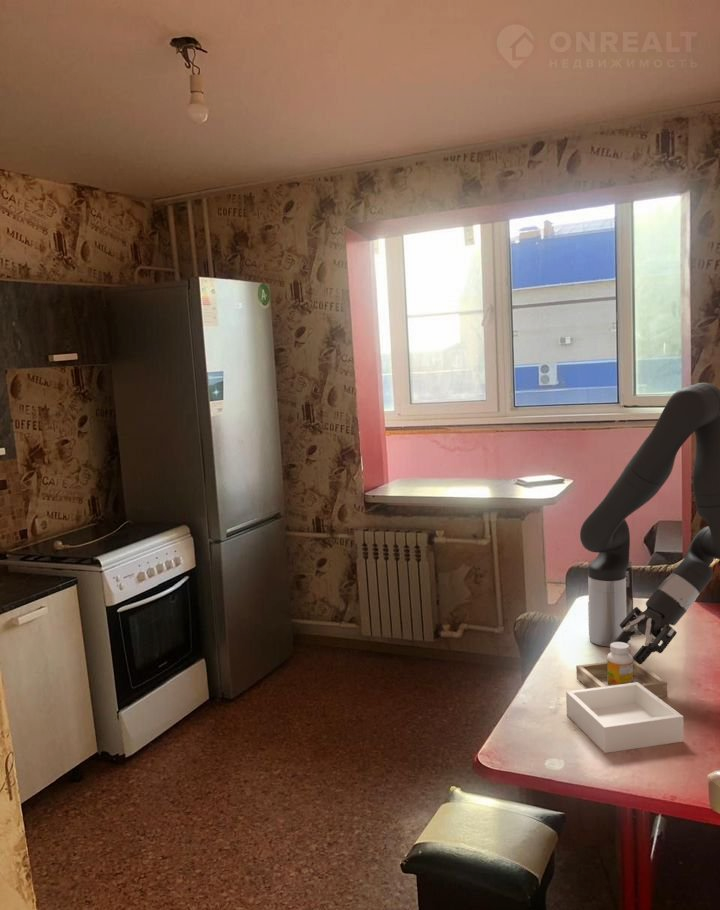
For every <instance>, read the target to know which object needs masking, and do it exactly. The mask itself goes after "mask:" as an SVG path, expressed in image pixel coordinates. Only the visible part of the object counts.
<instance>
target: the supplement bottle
mask: <svg viewBox="0 0 720 910" xmlns="http://www.w3.org/2000/svg"><path fill="white" fill-rule="evenodd" d="M609 649H610V652H609V653H607V656H606V657H607V658H606V662H607V675H608V676H607V686H612V685H620V684H627V683H634V675H633V656H632V654H630V644H628V642H627V643H624V642H613V643H611V644H610V648H609Z"/></svg>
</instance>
